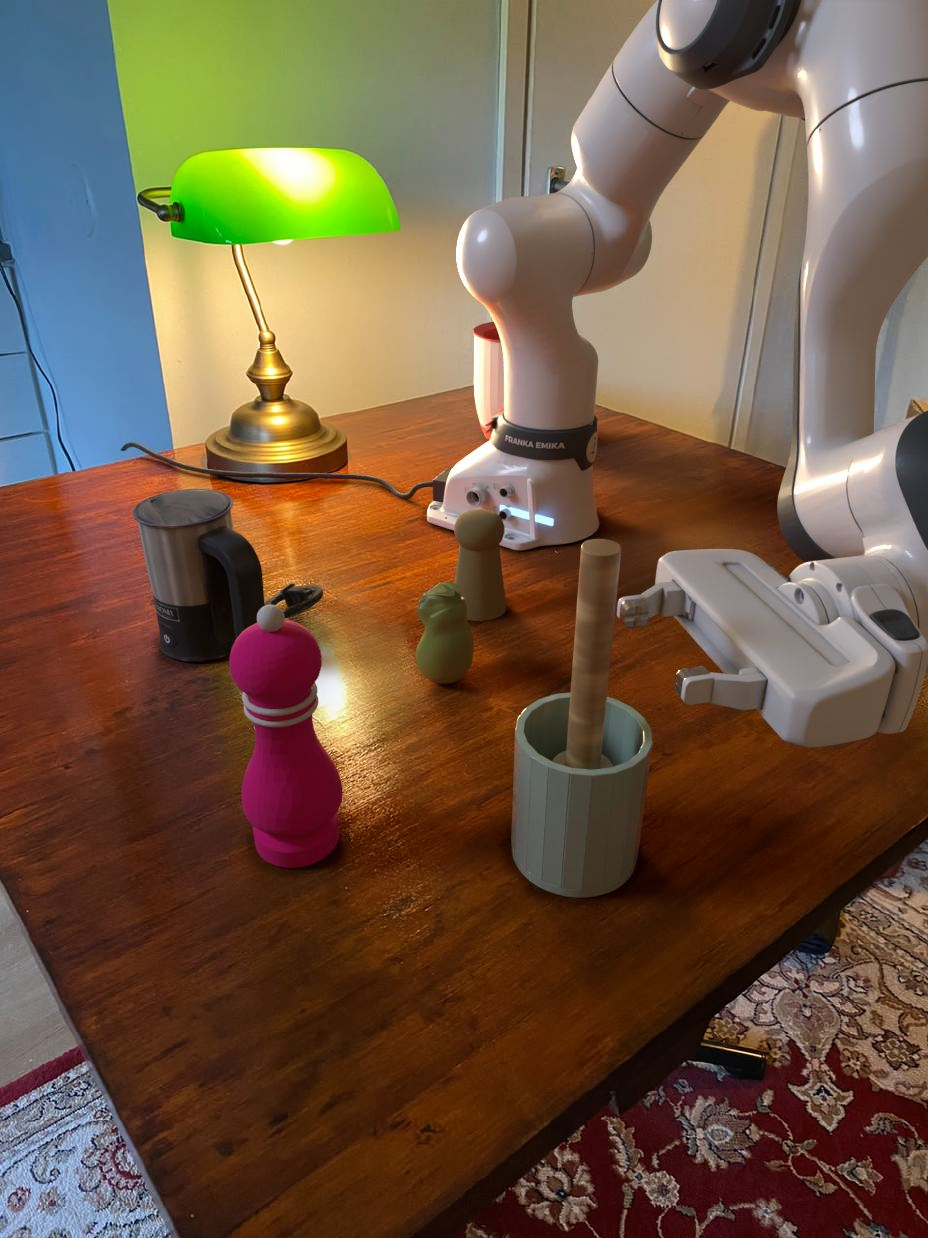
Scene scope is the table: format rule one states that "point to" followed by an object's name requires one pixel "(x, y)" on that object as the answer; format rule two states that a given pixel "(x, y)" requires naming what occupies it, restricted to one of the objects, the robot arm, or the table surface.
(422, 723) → the table surface
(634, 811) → the faceted pen cup
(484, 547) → the brown peg figure
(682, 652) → the table surface
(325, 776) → the pepper mill
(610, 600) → the bottle brush
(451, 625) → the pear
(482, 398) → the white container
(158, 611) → the milk frother
